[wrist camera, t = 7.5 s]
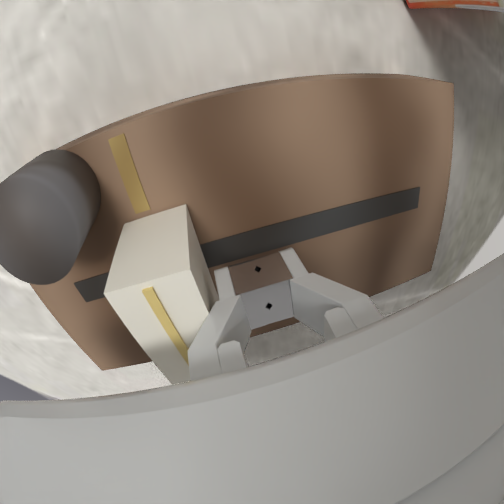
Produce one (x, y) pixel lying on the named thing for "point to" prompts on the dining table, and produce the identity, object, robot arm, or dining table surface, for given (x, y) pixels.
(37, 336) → the dining table surface
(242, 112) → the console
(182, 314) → the fader tab
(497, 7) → the cracker box
